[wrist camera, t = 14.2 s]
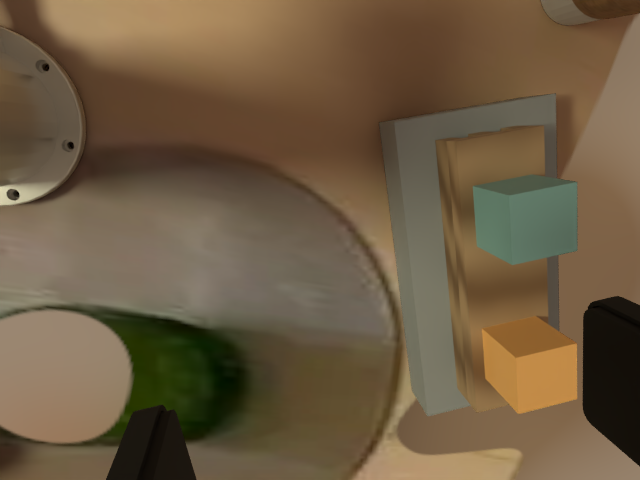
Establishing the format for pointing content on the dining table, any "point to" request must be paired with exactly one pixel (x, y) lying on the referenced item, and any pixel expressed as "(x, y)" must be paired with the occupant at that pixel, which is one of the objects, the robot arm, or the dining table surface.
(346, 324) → the dining table surface
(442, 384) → the dock
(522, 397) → the orange cube
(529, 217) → the teal cube
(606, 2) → the coffee cup
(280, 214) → the dining table surface
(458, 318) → the brown wooden block
